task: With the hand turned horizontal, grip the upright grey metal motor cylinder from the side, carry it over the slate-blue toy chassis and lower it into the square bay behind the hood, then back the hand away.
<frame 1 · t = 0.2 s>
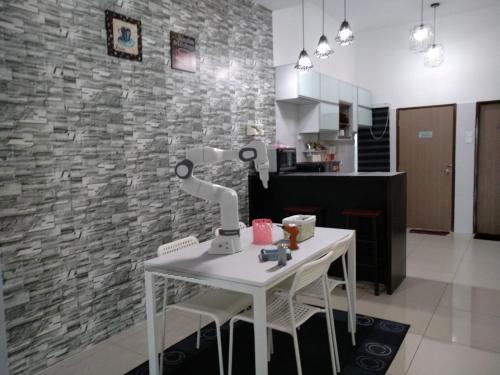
hand: (265, 187, 243), 39 cm above the table, tool pointing down, fingers open, 8 cm apart
storage basket: (299, 238, 273), on the table
chassis: (275, 257, 225), on the table
motor: (282, 264, 210), on the table
toy drill: (287, 247, 247), on the table
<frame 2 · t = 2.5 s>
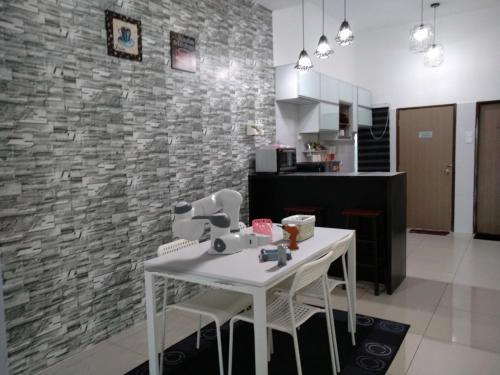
hand: (264, 235, 200), 18 cm above the table, tool horizontal, fingers open, 8 cm apart
nothing on the table moved.
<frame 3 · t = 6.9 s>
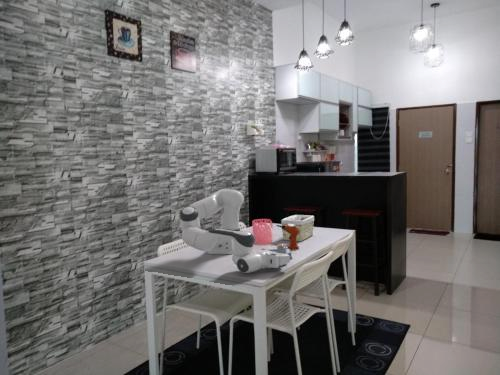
hand: (283, 253, 210), 6 cm above the table, tool horizontal, fingers closed on motor, 5 cm apart
motor: (282, 264, 210), on the table, touching gripper
everything else where it was.
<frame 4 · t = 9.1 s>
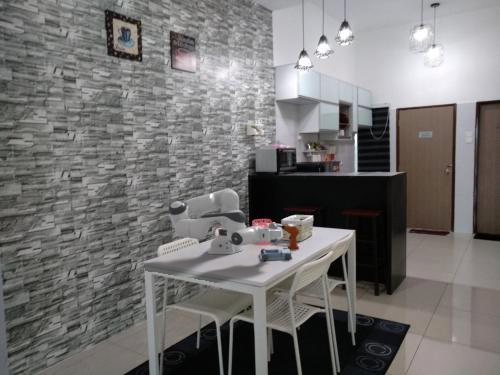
hand: (274, 230, 222), 16 cm above the table, tool horizontal, fingers closed on motor, 5 cm apart
motor: (273, 241, 222), point 10 cm above the table, touching gripper
when the fingers open (9 cm above the table, at t = 11.4 s): motor stays where it is, resting on chassis.
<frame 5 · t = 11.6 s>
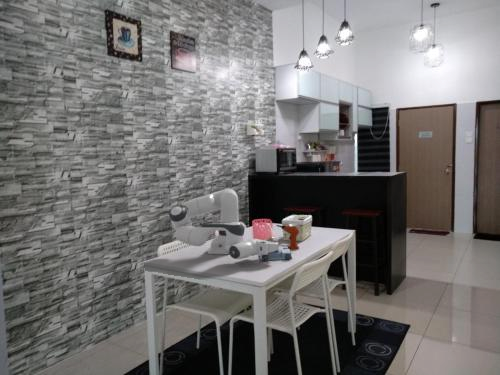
hand: (272, 242, 225), 9 cm above the table, tool horizontal, fingers open, 7 cm apart
motor: (272, 255, 225), point 1 cm above the table, touching chassis
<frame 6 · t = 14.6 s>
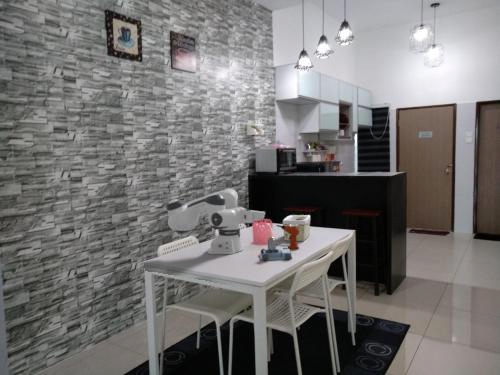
hand: (258, 212, 214), 28 cm above the table, tool horizontal, fingers open, 8 cm apart
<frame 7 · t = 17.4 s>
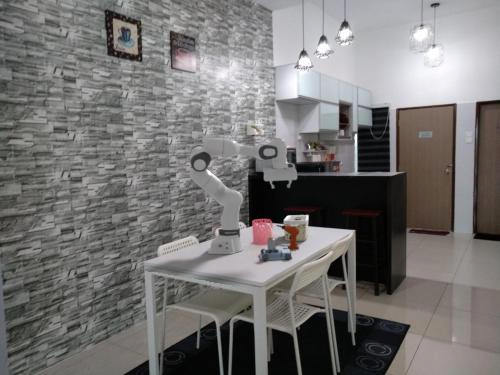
hand: (280, 187, 235), 39 cm above the table, tool pointing down, fingers open, 8 cm apart
at the end: motor 0.1 cm from the target spot on the chassis, point 1.1 cm above the chassis's base; motor tilted 1°; the gripper is holding nothing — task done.
